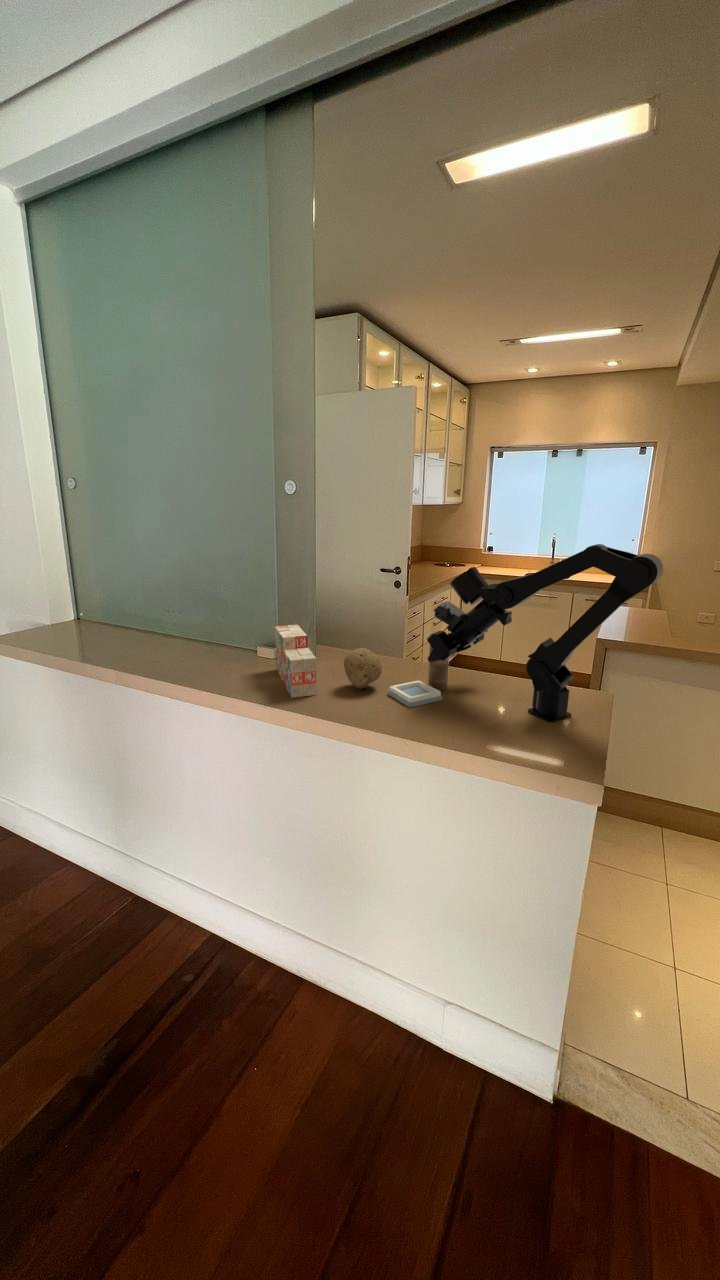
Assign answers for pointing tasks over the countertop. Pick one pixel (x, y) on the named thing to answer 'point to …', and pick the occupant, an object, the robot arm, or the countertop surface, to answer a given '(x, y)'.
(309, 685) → the stack of blocks
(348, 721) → the countertop surface
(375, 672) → the natural sponge
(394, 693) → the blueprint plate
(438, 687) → the walnut column
